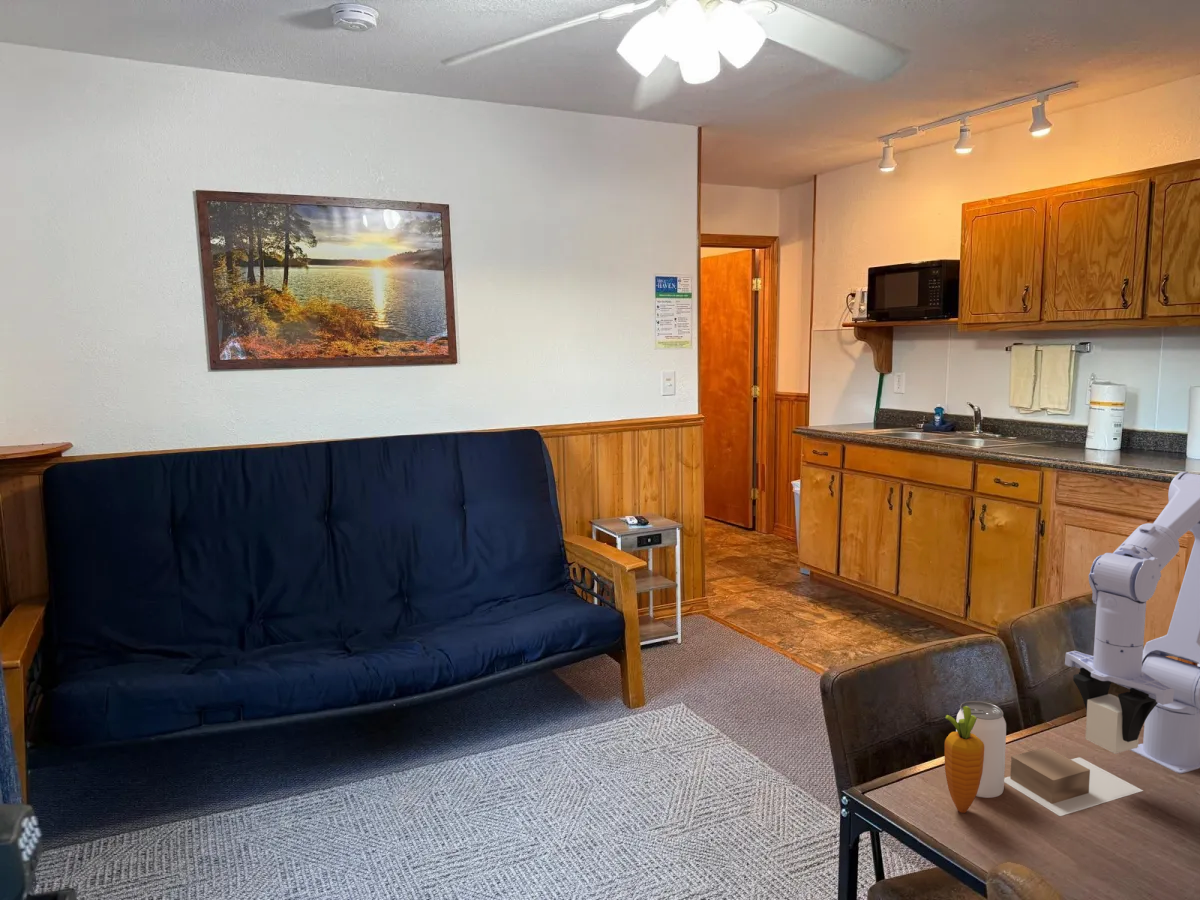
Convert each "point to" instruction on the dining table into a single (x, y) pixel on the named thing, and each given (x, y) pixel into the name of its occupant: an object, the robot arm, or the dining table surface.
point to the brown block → (1050, 775)
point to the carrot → (963, 761)
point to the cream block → (1107, 724)
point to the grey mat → (1100, 791)
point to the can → (989, 745)
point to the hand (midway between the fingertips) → (1112, 731)
